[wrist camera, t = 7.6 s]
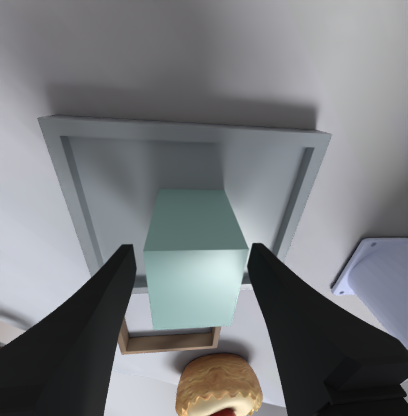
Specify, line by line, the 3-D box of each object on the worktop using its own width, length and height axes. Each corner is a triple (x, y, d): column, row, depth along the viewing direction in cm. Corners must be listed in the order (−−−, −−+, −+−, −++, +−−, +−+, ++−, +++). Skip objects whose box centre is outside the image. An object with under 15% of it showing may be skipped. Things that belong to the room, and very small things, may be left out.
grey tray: (316, 129, 13) (332, 134, 11) (267, 275, 20) (273, 288, 18) (55, 114, 11) (37, 117, 10) (104, 279, 18) (97, 295, 17)
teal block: (224, 190, 14) (249, 249, 8) (216, 253, 17) (231, 325, 11) (158, 189, 13) (142, 251, 8) (163, 254, 16) (153, 330, 11)
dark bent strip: (222, 292, 21) (225, 305, 19) (215, 334, 25) (216, 348, 24) (112, 296, 19) (107, 310, 18) (125, 340, 24) (121, 354, 22)
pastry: (263, 345, 29) (294, 434, 21) (237, 380, 34) (255, 462, 27) (184, 346, 26) (188, 449, 19) (170, 384, 32) (168, 476, 24)
